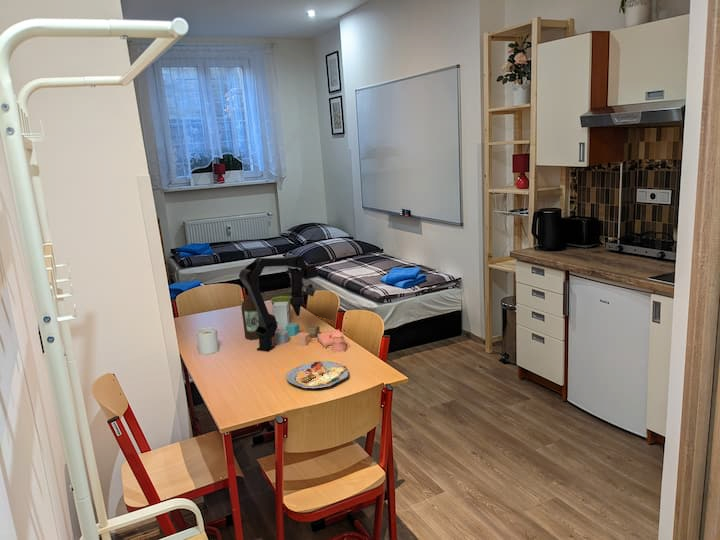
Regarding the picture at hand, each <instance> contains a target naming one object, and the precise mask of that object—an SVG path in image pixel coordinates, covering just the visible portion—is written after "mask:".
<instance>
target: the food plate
mask: <svg viewBox="0 0 720 540" xmlns="http://www.w3.org/2000/svg"><path fill="white" fill-rule="evenodd" d="M304 370H305V371H304ZM327 370H328V371H327ZM300 371H304V372H305V373H306V374H309V375H307V376H306V375H305V376H306V377H304V376H303V378H302V377H300V378H299V380H300V381H301V382H302V383H306V385H305V384H302V383H300V381H299V382H298V380H297V381H296V377H297V375H298V374H297V373H299V372H300ZM302 373H303V372H302ZM299 374H300V373H299ZM322 374H324V375H323V376H321V377H319V378H318V379H316V380H314V381H311V380H312V379H314V378H316V376H315V375H319V376H320V375H322ZM349 375H350V374H349V369H348V367H347V366H346V365H343V364H340V363H338V362H334V361H320V360H319V361H314V362H309V363H304V364H301V365H300V366H297V367H295V368H292V369H291V370H289V371H287V373H286V375H285V378H286V381H288V383H290V384H291V385H294V386H296V387H300V388H303V389H308V388H309V389H318V388H326V387H330V386H332V385H334V384H337V383H339V382H341V381H342V380H344V379H346V378H347V377H349ZM309 381H311V382H309ZM307 382H308V383H307Z"/></svg>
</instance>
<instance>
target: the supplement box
mask: <svg viewBox="0 0 720 540" xmlns="http://www.w3.org/2000/svg"><path fill="white" fill-rule="evenodd" d="M272 315H274V316H275V318H276V321H277V323H278V324H277V329H276V330H286V327H285V326H287V325H288V324H290V323H291V322H290V318H289V306H288V302H275V303H274V304H273V305H272Z"/></svg>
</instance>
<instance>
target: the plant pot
mask: <svg viewBox="0 0 720 540" xmlns="http://www.w3.org/2000/svg"><path fill="white" fill-rule="evenodd" d="M290 298H291V296H288V295H287V296H286V295H285V296H284V295H280V296H275V297H272V298H271V299H270V303H271V305H272V306H273V304H274V303H275V302H288V306H289V319H290V317H291V308H292V305H291V303H290Z"/></svg>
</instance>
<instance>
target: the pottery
mask: <svg viewBox="0 0 720 540" xmlns="http://www.w3.org/2000/svg"><path fill="white" fill-rule="evenodd" d="M340 330H341V329H336V330H333V331H327V332H323V333H321V332H320V334H317V338H316V339H317V343H318V342H319V343H320V344H321V345H322V346H323V347H322V346H321V345H320V344H319V343H318V344H319V345H320V346H321V347H322V348H324V347H329V346H332V347H329V348H331V351H332V352H333V351H334V352H333V353H335V352H341V353H343V352H342V351H344V352H346V348H347V346H346V343H345V342H344V341H345V337H344V332H342V331H340Z"/></svg>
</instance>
